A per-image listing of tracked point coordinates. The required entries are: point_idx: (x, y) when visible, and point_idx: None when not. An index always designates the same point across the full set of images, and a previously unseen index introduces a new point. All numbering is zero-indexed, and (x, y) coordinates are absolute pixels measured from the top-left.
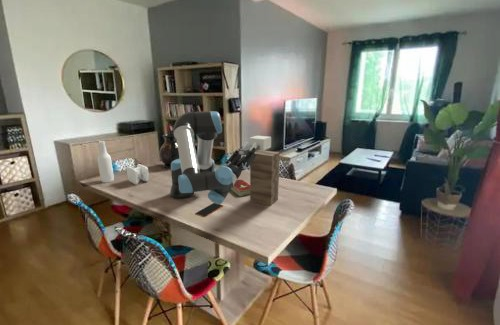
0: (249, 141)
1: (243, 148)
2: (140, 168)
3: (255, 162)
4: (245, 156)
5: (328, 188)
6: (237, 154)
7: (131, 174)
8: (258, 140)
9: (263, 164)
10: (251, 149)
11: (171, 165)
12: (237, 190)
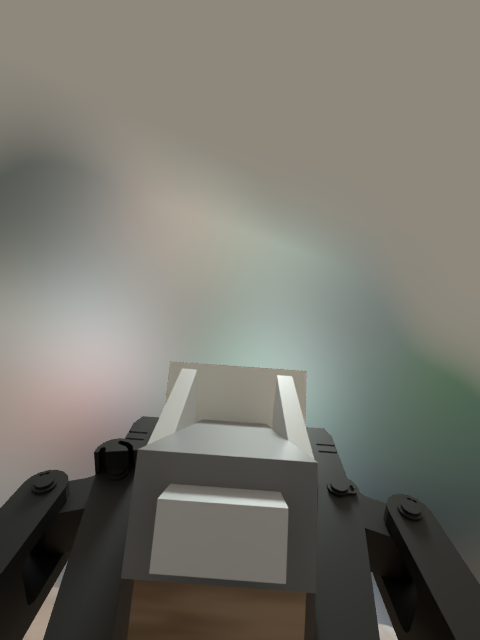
0: (168, 392)
1: (186, 436)
2: None
3: (173, 585)
4: (323, 629)
5: (382, 628)
6: (76, 579)
7: None
8: (257, 381)
9: (246, 598)
10: (308, 449)
11: None
12: None
